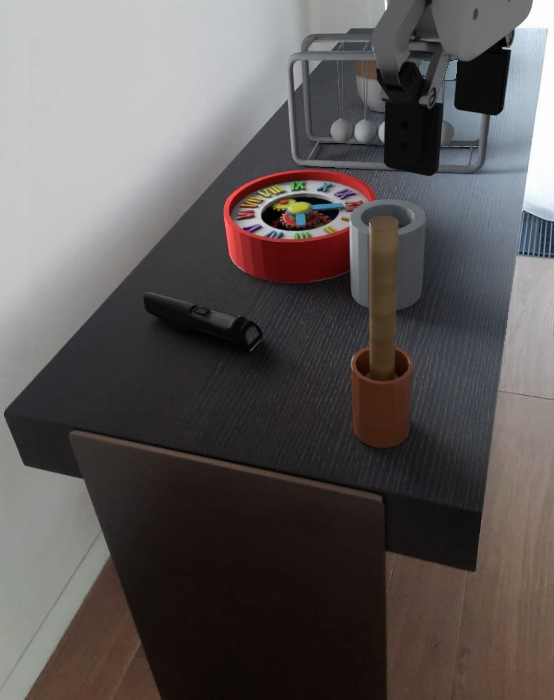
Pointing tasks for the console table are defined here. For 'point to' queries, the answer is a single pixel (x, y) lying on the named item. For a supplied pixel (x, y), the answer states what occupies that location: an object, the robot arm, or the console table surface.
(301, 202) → the toy clock
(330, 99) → the console table surface
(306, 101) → the newton's cradle
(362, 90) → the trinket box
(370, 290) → the brush
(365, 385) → the pot
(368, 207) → the grey hollow cylinder
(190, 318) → the electric trimmer
